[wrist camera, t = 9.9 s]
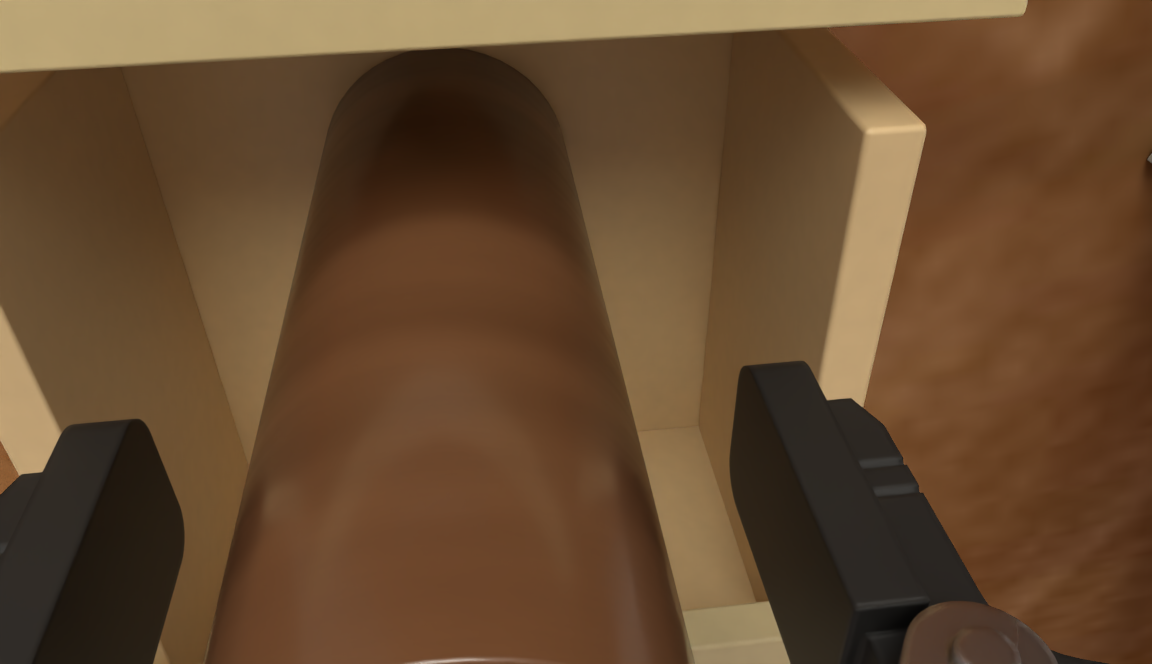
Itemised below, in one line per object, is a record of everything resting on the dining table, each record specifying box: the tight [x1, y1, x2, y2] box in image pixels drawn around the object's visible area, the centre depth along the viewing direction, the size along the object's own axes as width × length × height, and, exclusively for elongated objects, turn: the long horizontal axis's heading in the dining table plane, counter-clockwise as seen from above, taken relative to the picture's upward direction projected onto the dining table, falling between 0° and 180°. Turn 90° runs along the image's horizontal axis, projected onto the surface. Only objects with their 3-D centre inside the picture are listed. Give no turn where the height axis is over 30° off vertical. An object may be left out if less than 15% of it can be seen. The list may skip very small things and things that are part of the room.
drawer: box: [0, 0, 1028, 664], centre depth 14 cm, size 18×13×7 cm
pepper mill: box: [203, 48, 695, 664], centre depth 12 cm, size 4×4×13 cm
